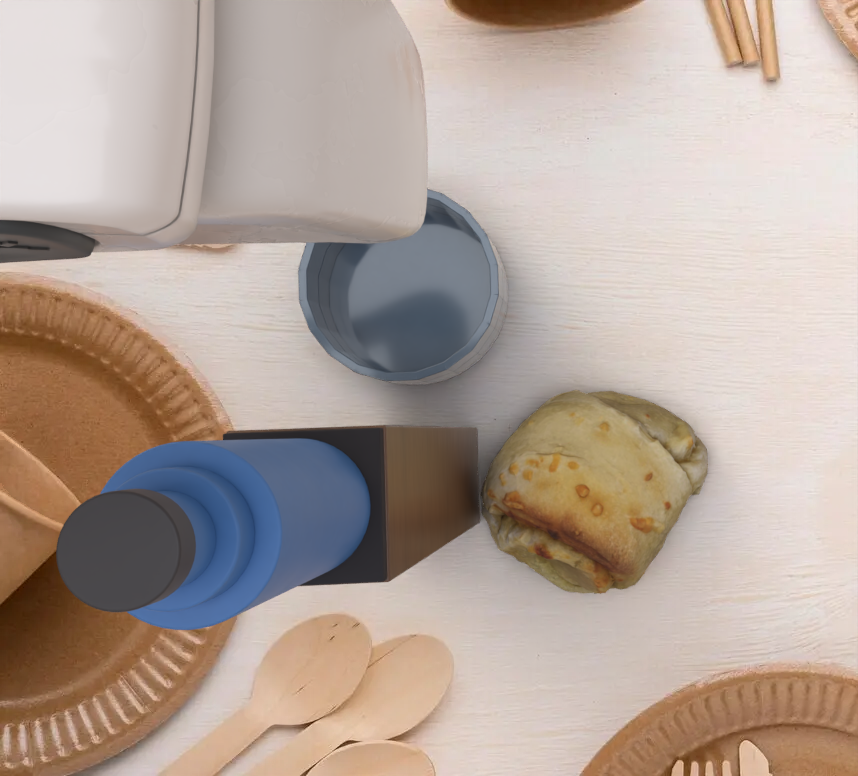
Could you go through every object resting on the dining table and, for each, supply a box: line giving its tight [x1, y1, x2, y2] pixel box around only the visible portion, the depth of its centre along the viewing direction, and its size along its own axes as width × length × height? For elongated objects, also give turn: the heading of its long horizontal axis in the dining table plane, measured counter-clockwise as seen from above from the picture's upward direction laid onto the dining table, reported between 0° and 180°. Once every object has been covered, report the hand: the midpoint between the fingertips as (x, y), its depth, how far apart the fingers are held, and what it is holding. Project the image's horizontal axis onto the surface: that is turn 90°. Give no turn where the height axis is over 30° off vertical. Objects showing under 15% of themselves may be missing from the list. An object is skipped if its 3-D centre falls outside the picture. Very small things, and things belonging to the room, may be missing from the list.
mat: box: [222, 428, 387, 587], centre depth 40 cm, size 6×6×1 cm
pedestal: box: [226, 424, 481, 587], centre depth 53 cm, size 6×6×26 cm
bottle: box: [55, 438, 370, 631], centre depth 32 cm, size 5×5×14 cm
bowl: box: [297, 188, 509, 386], centre depth 64 cm, size 11×11×6 cm
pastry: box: [479, 389, 709, 595], centre depth 63 cm, size 14×12×8 cm
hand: (36, 212), depth 25 cm, fingers open, 8 cm apart
